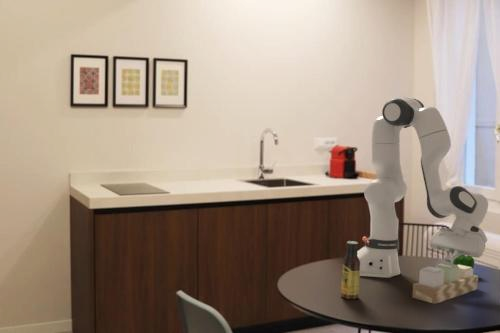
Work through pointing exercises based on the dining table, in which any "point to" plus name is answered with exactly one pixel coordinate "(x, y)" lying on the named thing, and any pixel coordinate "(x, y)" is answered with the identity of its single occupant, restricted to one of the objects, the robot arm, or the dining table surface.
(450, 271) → the sage key
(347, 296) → the sauce bottle
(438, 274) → the grey key
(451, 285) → the keypad housing
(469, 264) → the bell pepper
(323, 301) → the dining table surface
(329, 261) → the dining table surface
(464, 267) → the cream key
